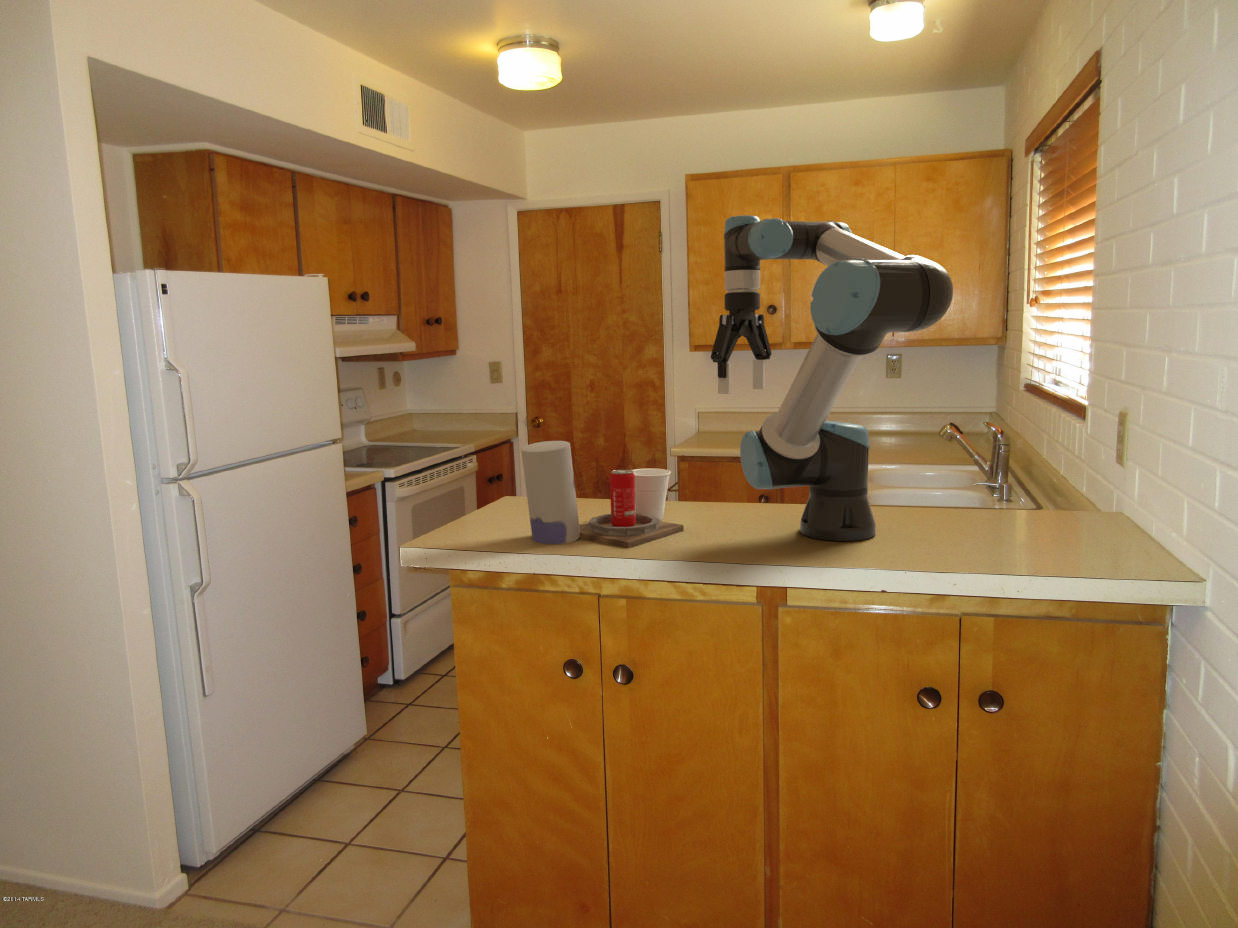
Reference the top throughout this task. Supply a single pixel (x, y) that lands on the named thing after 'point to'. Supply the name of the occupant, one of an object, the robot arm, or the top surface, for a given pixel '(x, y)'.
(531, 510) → the container
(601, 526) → the collar board
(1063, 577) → the top surface
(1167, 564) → the top surface
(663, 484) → the cup
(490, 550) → the top surface
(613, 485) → the beverage can
